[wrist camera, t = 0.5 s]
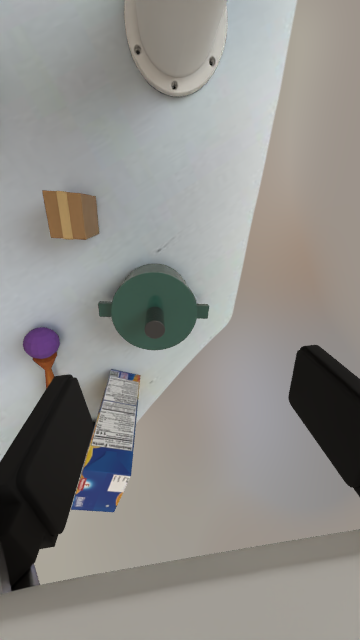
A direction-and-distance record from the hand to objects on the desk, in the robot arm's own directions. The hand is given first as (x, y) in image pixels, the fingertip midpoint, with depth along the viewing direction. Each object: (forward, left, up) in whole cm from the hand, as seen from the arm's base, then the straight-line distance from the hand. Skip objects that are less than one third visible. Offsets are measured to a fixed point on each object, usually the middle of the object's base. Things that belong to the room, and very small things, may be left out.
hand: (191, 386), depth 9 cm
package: (-5, -14, -34) cm, 37 cm away
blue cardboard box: (+33, -10, -34) cm, 49 cm away
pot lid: (+9, -2, -27) cm, 28 cm away
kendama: (+25, -24, -34) cm, 49 cm away
